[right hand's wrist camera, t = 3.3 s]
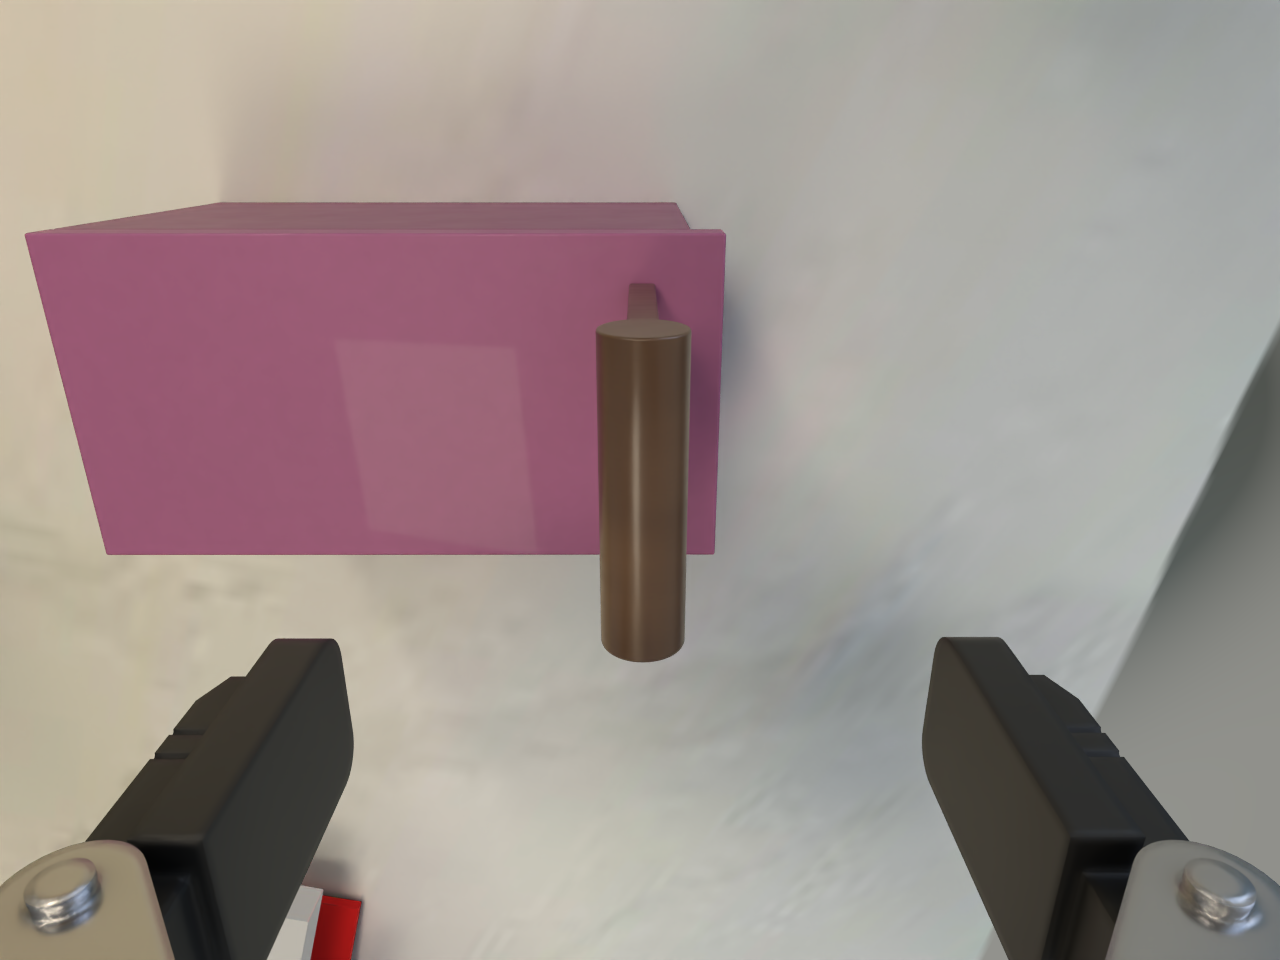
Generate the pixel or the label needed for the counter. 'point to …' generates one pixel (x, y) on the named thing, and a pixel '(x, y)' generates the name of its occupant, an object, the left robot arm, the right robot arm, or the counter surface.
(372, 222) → the chest
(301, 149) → the counter surface
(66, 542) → the counter surface
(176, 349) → the lid
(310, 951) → the toy
